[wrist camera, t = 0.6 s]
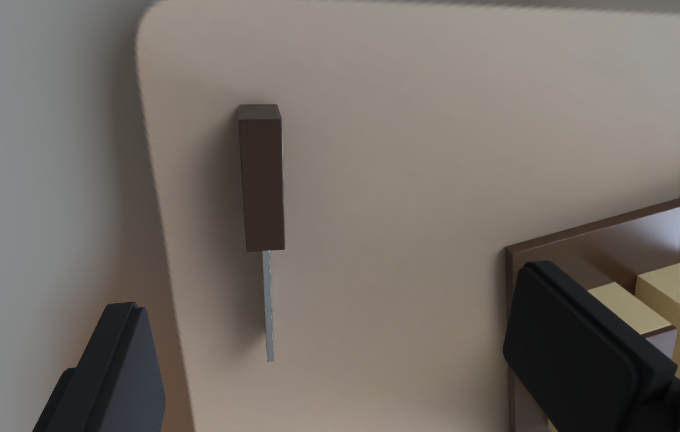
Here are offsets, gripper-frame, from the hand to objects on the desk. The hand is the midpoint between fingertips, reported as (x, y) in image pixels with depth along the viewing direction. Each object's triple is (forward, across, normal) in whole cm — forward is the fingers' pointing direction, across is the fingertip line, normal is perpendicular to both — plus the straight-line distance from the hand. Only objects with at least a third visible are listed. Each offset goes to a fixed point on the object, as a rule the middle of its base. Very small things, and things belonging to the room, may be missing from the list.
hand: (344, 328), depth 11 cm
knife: (+16, +2, +5) cm, 17 cm away
